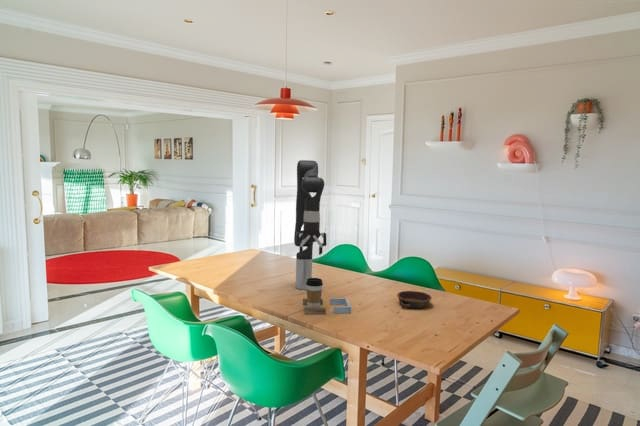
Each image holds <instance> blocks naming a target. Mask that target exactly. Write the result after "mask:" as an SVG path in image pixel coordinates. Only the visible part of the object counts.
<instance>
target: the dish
mask: <svg viewBox="0 0 640 426" xmlns="http://www.w3.org/2000/svg"><path fill="white" fill-rule="evenodd" d="M396 296H397V298H398V301H399V303H400V306H401V308H404V309H405V308H411V309H423V308H427V307H428V306H429V304H430V301H431V300H432V295H430V294H428V293H426V292H423V291H413V290H405V291H400V292H398V293H397V294H396Z"/></svg>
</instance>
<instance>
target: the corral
mask: <svg viewBox="0 0 640 426" xmlns="http://www.w3.org/2000/svg"><path fill="white" fill-rule="evenodd" d="M329 304H330V305H344V306H333V308H332V309H333V310H332V314H351V313H352V306H351V304H350V302H349V299H348V298H347V297H343V298H342V297H330V298H329Z"/></svg>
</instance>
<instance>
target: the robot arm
mask: <svg viewBox="0 0 640 426" xmlns="http://www.w3.org/2000/svg"><path fill="white" fill-rule="evenodd" d="M324 189H325V181H324V179H323V178H322V177H320V176H319V165H318V162H317V161H316V160H309V159H308V160H304V159H301V160H298V161H297V165H296V200H295V227H294V238H293V242H294V246H295V247H299V250H298V251H299V252H296V254H295V256H296V258H295V288H296V289H298V290H307V285H306V282H307V279H309V278H313V250H314V249H313V245H314V243H315V242H316V243H317V244H318V245H319V247H318V255H319V256H321V255H322V254H323V247H325V246H327V233H326V232H325V231H324V232H320V230H321V229H320V227H321V226H320V225H321V223H320V222H321V214H320V213H321V211H320V208H321V207H320V206H321V198H322V195H323V192H324ZM311 193H313V194H314V196H312V195H311ZM302 229H303V230H302ZM320 237H321V238H323V239H322V242H321V241H320V240H319V238H320ZM304 247H306V248H304Z"/></svg>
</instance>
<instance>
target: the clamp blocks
mask: <svg viewBox="0 0 640 426" xmlns="http://www.w3.org/2000/svg"><path fill="white" fill-rule="evenodd" d="M323 302H324V299H323V298H322V297H321V301H320V307H308V302H307V297H303V298H302V305H303V306H304V309H303V310H304V311H303V312H304V315H326V314H327V313H326V312H327V311H326V307H325V306H323V305H324V304H323Z"/></svg>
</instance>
